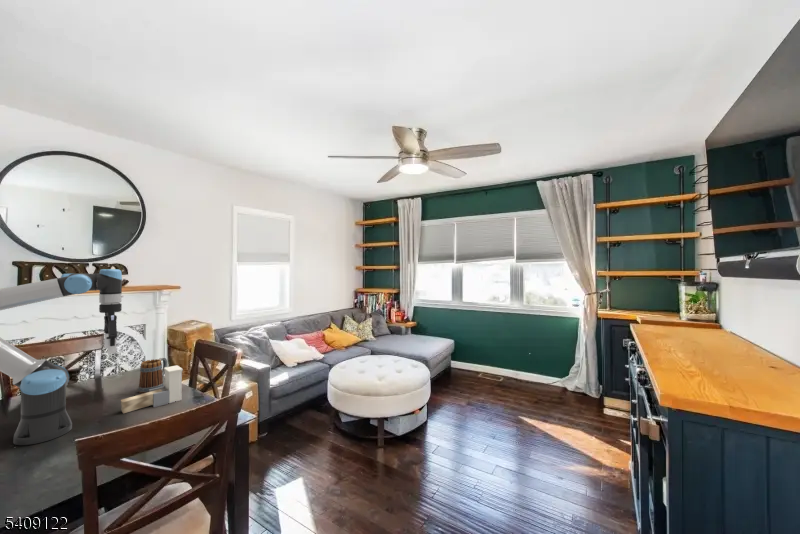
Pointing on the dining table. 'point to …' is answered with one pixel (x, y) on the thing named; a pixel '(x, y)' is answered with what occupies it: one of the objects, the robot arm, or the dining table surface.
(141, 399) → the rail
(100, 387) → the dining table surface
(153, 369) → the mug
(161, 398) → the u-notched block
